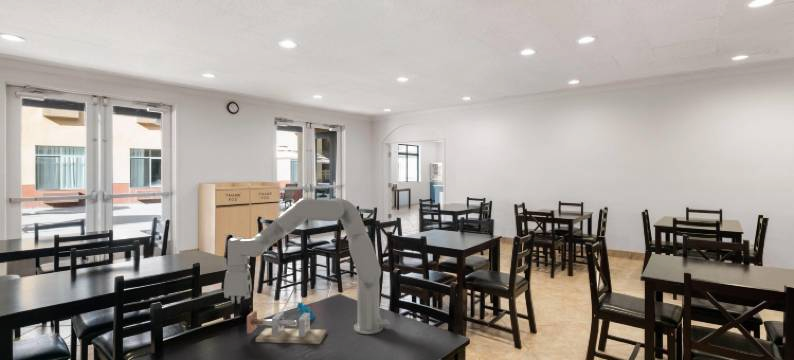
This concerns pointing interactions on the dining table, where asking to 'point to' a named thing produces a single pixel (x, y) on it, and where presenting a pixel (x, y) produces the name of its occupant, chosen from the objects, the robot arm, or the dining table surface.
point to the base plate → (291, 336)
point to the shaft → (264, 322)
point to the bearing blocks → (277, 329)
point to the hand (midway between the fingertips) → (237, 311)
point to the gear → (305, 310)
